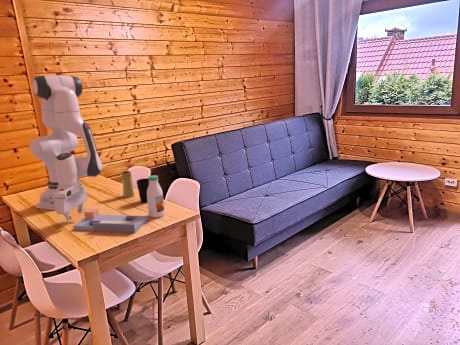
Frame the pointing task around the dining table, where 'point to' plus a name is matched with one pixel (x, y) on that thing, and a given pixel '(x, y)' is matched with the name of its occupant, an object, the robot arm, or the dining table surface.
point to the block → (91, 213)
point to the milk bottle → (155, 198)
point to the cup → (143, 189)
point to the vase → (127, 184)
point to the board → (112, 223)
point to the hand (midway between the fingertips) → (74, 216)
